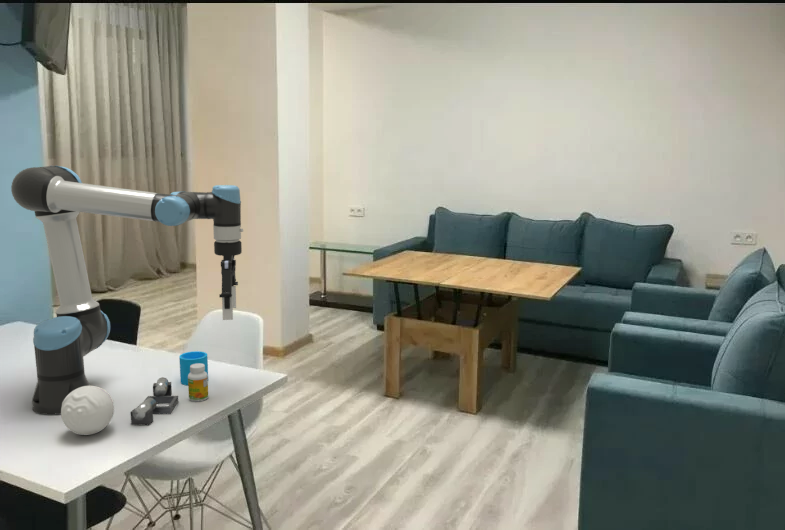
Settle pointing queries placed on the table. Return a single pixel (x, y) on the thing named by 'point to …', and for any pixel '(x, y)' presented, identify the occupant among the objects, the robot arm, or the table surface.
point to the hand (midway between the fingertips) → (229, 313)
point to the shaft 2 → (162, 387)
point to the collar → (165, 400)
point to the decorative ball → (87, 410)
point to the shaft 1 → (143, 413)
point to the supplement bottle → (198, 383)
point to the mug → (190, 359)
